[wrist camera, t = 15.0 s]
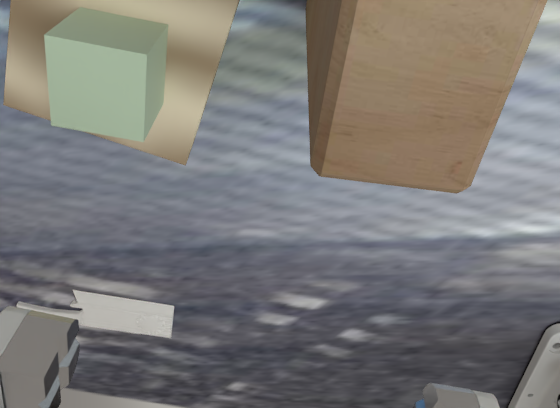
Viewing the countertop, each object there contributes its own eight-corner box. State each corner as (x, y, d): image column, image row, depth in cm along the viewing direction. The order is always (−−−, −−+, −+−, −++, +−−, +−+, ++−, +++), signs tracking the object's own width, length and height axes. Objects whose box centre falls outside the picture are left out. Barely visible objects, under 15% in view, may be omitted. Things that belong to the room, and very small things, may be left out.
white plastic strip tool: (16, 273, 48) (11, 281, 48) (176, 297, 50) (174, 305, 49) (21, 310, 51) (16, 319, 50) (172, 332, 53) (170, 341, 52)
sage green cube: (163, 103, 32) (143, 142, 28) (83, 88, 32) (51, 125, 28) (168, 24, 30) (146, 54, 26) (79, 7, 29) (44, 34, 25)
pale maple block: (197, 131, 39) (185, 165, 35) (36, 75, 37) (3, 104, 33) (248, -27, 33) (241, -8, 28) (55, -107, 30) (17, -98, 26)
